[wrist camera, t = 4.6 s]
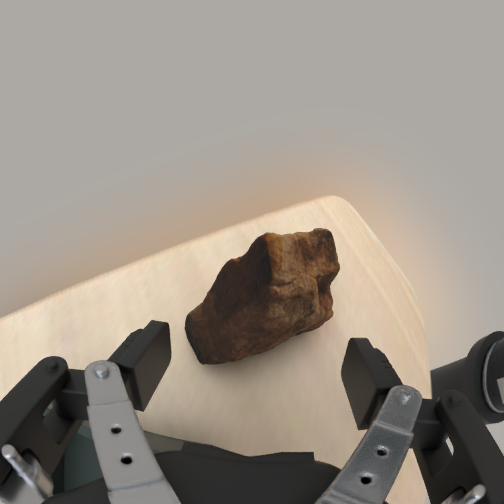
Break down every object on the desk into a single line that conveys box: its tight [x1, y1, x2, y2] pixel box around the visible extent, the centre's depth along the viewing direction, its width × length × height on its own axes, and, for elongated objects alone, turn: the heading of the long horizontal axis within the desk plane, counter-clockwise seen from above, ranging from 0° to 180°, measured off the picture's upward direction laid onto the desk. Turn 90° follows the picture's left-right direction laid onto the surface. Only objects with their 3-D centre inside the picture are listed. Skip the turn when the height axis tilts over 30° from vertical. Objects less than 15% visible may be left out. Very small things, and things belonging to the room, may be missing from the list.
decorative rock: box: [185, 228, 340, 365], centre depth 19 cm, size 12×6×11 cm, turn 110°
